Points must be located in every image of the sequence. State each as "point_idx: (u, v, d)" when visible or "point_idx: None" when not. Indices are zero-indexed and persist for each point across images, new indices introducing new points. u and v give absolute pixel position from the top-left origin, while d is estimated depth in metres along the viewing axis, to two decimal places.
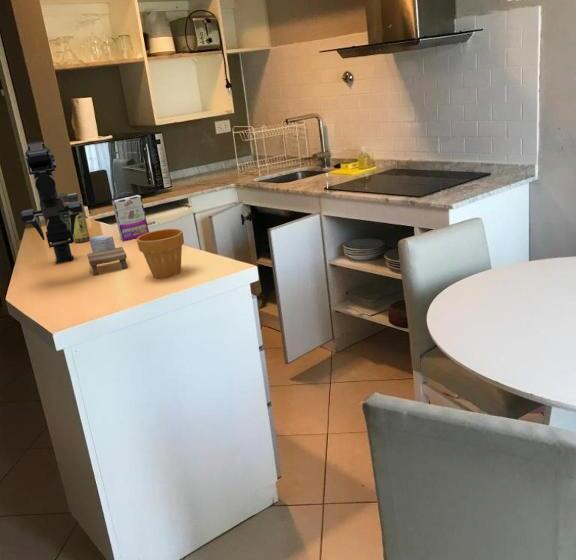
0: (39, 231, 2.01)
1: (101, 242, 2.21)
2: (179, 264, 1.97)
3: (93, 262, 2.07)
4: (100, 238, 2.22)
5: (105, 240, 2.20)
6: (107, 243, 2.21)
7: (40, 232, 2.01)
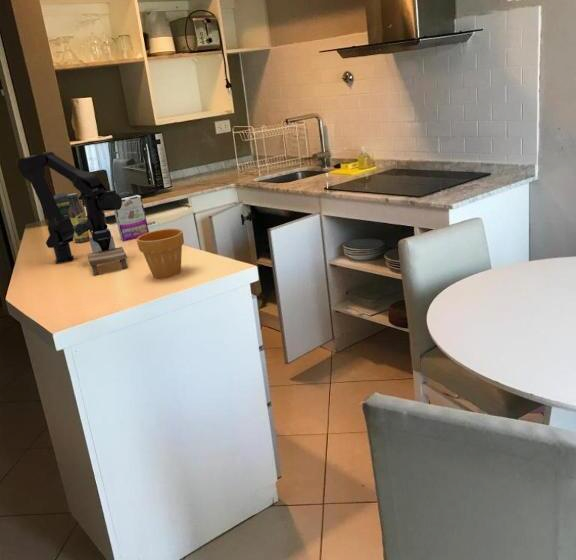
0: None
1: None
2: (179, 264, 1.97)
3: (93, 262, 2.07)
4: None
5: None
6: None
7: None
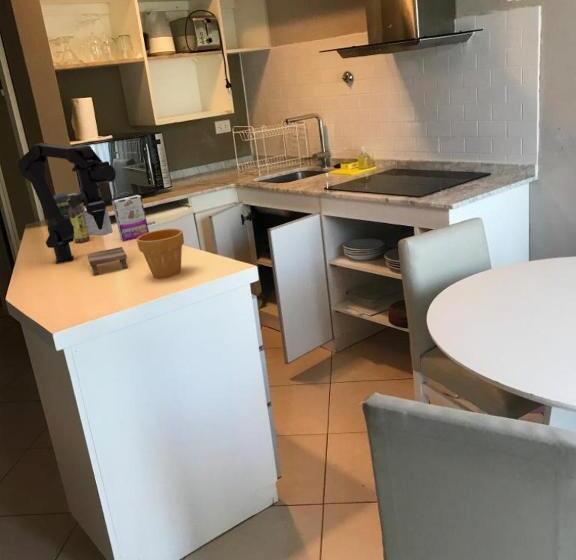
0: None
1: None
2: (179, 264, 1.97)
3: (93, 262, 2.07)
4: None
5: None
6: None
7: None
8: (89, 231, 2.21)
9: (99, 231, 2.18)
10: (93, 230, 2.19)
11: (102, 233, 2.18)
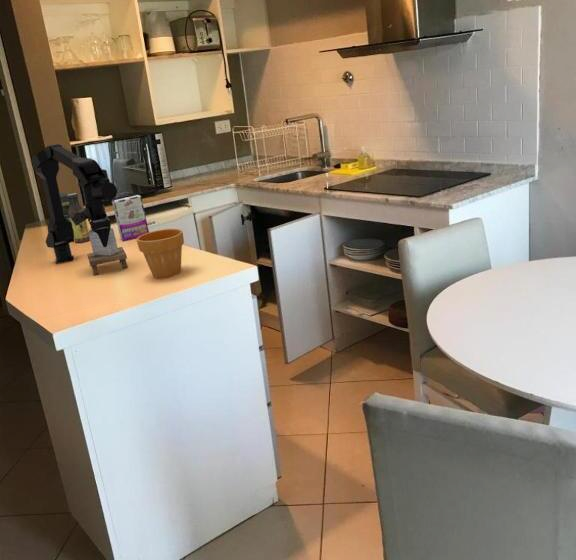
0: None
1: None
2: (179, 264, 1.97)
3: (93, 262, 2.07)
4: None
5: None
6: None
7: None
8: (94, 251, 2.13)
9: (104, 251, 2.11)
10: (98, 250, 2.12)
11: (108, 253, 2.10)
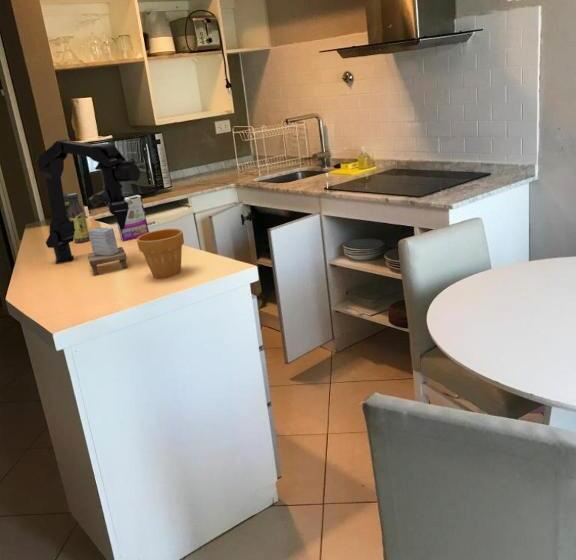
0: (115, 216, 2.20)
1: (101, 234, 2.08)
2: (179, 264, 1.97)
3: (93, 262, 2.07)
4: (100, 230, 2.10)
5: (105, 232, 2.08)
6: (107, 235, 2.09)
7: (115, 217, 2.20)
8: (94, 251, 2.13)
9: (104, 251, 2.11)
10: (98, 250, 2.12)
11: (108, 253, 2.10)
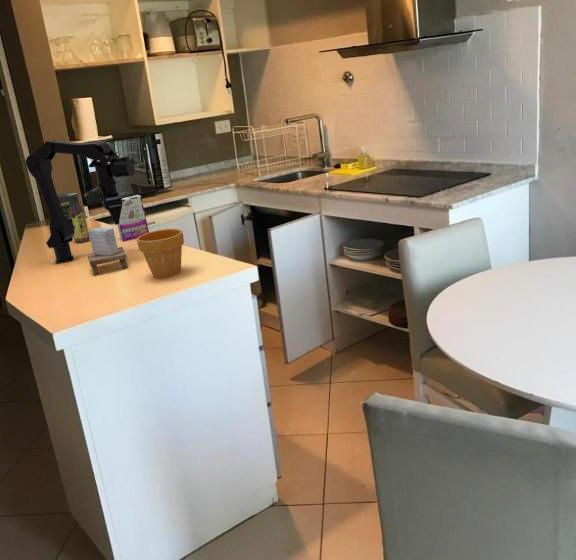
0: (109, 212, 2.26)
1: (101, 234, 2.08)
2: (179, 264, 1.97)
3: (93, 262, 2.07)
4: (100, 230, 2.10)
5: (105, 232, 2.08)
6: (107, 235, 2.09)
7: None
8: (94, 251, 2.13)
9: (104, 251, 2.11)
10: (98, 250, 2.12)
11: (108, 253, 2.10)
